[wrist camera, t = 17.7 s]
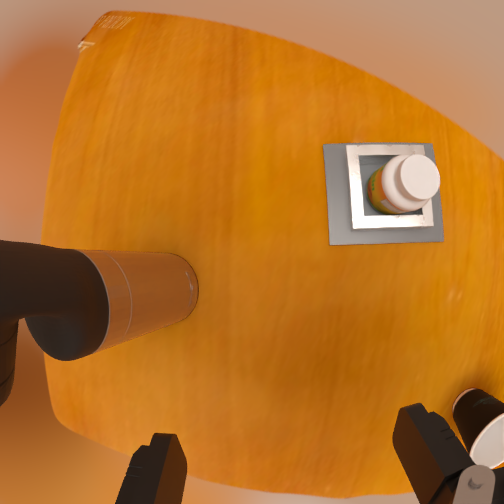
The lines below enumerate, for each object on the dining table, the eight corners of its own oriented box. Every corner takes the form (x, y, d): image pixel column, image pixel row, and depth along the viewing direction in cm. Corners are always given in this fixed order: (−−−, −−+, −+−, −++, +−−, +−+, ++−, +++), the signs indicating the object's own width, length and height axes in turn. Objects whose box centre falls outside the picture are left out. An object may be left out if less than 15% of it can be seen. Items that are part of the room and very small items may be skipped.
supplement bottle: (375, 160, 32) (405, 134, 22) (414, 183, 31) (453, 166, 22) (357, 201, 32) (383, 187, 23) (397, 224, 32) (434, 219, 22)
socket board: (329, 245, 35) (329, 243, 31) (323, 147, 35) (322, 133, 31) (440, 241, 32) (454, 239, 27) (429, 146, 32) (440, 133, 28)
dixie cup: (480, 365, 29) (521, 396, 18) (496, 403, 28) (531, 437, 17) (433, 403, 30) (461, 446, 20) (452, 438, 29) (478, 481, 18)
